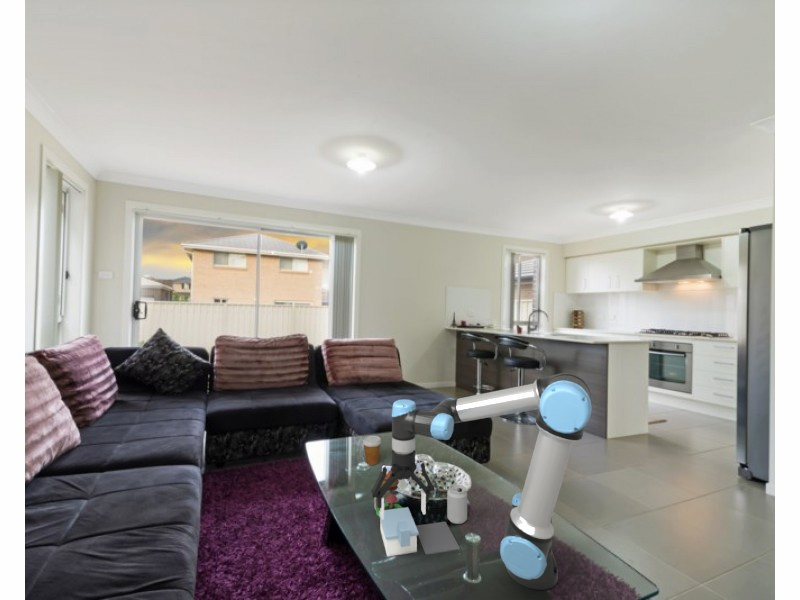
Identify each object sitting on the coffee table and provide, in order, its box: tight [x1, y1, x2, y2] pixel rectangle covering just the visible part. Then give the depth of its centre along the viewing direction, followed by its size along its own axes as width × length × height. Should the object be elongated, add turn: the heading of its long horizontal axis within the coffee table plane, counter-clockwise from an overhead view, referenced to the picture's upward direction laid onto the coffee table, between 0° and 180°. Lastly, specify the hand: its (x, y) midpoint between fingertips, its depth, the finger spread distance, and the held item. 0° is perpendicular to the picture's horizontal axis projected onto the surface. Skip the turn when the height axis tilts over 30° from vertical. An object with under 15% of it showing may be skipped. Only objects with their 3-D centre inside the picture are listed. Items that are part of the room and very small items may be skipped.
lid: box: [378, 506, 419, 547], centre depth 129 cm, size 20×11×5 cm, turn 12°
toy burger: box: [373, 470, 403, 518], centre depth 149 cm, size 12×13×15 cm
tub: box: [379, 520, 418, 558], centre depth 132 cm, size 14×10×6 cm
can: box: [446, 484, 468, 525], centre depth 144 cm, size 8×8×12 cm
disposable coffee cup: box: [362, 435, 382, 466], centre depth 191 cm, size 10×10×12 cm
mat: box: [416, 521, 461, 556], centre depth 133 cm, size 15×12×1 cm
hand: (403, 514), depth 122 cm, fingers open, 13 cm apart
